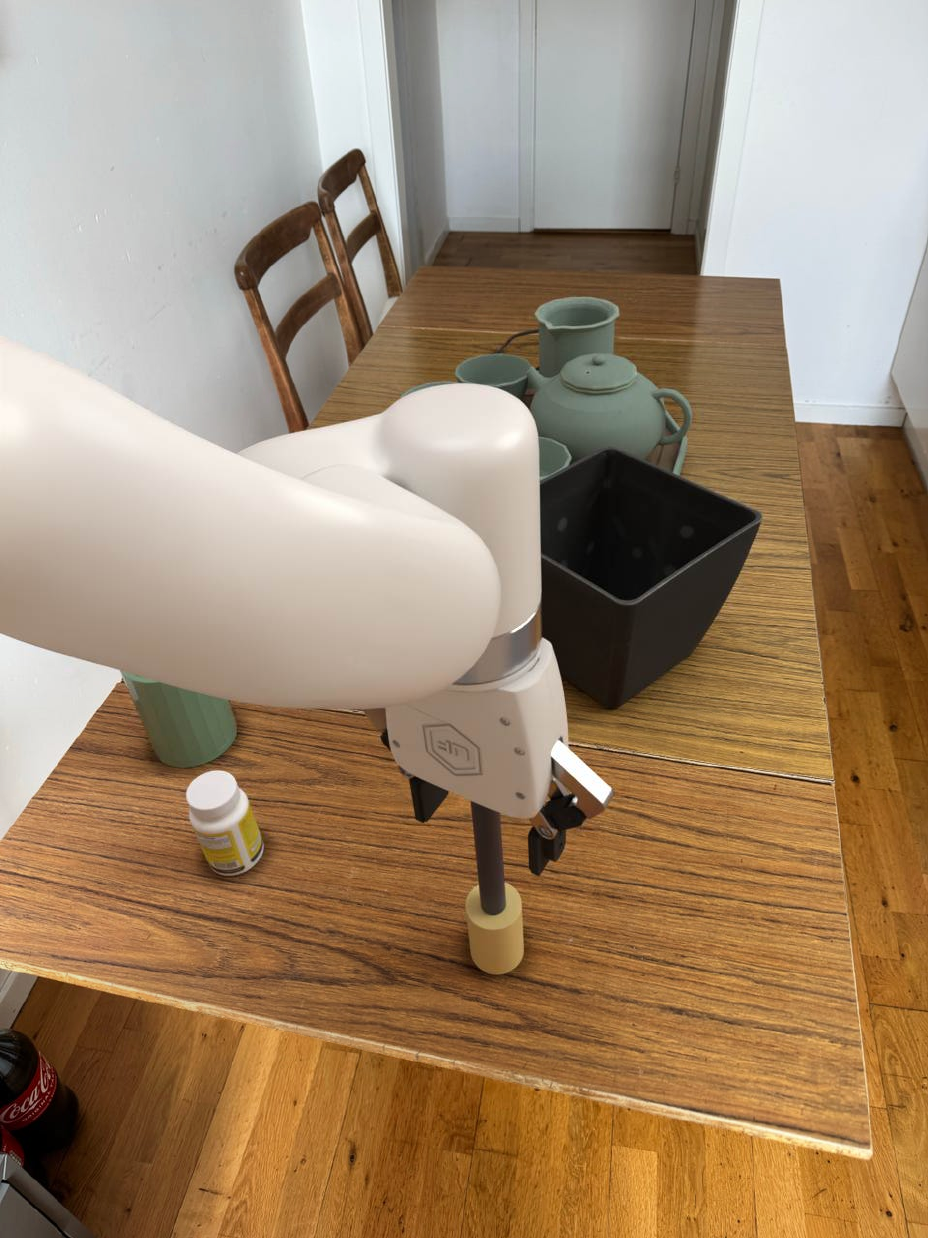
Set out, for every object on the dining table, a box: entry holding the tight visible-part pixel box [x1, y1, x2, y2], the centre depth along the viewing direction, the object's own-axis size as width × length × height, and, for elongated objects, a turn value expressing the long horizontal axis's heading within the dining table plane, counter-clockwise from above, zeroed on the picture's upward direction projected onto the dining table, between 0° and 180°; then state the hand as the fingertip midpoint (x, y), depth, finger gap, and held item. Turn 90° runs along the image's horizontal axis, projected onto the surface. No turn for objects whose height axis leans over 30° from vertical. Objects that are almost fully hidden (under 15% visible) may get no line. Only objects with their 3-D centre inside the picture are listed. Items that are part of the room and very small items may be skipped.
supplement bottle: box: [185, 769, 264, 877], centre depth 73 cm, size 5×5×8 cm
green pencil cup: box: [119, 670, 238, 769], centre depth 83 cm, size 8×8×11 cm
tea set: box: [399, 296, 693, 481], centre depth 117 cm, size 40×40×16 cm
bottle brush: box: [464, 801, 525, 976], centre depth 61 cm, size 4×4×19 cm
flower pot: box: [540, 446, 763, 709], centre depth 86 cm, size 19×19×17 cm
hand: (487, 830), depth 58 cm, fingers open, 7 cm apart
